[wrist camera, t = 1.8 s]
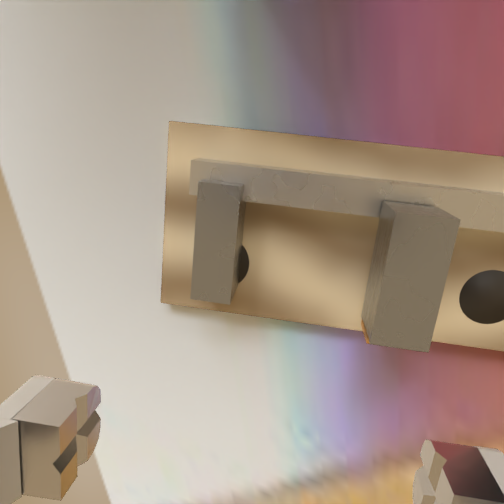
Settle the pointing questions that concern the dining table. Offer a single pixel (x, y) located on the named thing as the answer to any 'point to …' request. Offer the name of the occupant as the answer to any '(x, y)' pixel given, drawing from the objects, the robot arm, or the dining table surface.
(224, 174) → the trammel bar
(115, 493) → the dining table surface
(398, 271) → the block
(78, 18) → the dining table surface
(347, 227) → the hole board
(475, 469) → the robot arm
